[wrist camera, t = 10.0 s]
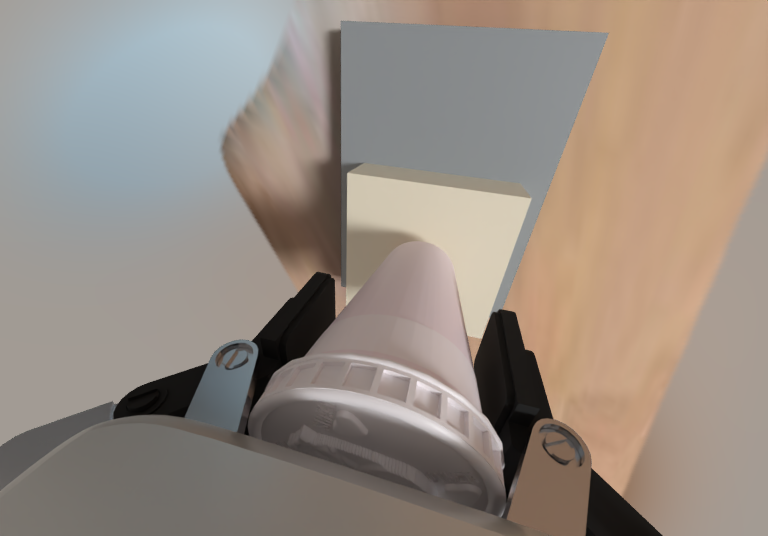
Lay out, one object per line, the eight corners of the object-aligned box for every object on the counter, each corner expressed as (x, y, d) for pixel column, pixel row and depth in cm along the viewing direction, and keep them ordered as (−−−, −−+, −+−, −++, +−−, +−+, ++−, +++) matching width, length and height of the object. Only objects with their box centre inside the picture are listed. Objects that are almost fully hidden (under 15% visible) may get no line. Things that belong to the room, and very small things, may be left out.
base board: (351, 28, 15) (313, 1, 11) (594, 40, 13) (649, 12, 9) (347, 276, 23) (325, 309, 19) (496, 306, 21) (503, 349, 17)
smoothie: (424, 337, 17) (335, 868, 5) (340, 272, 16) (-2, 738, 4) (511, 273, 13) (840, 1416, 2) (410, 186, 13) (-332, 1361, 1)
